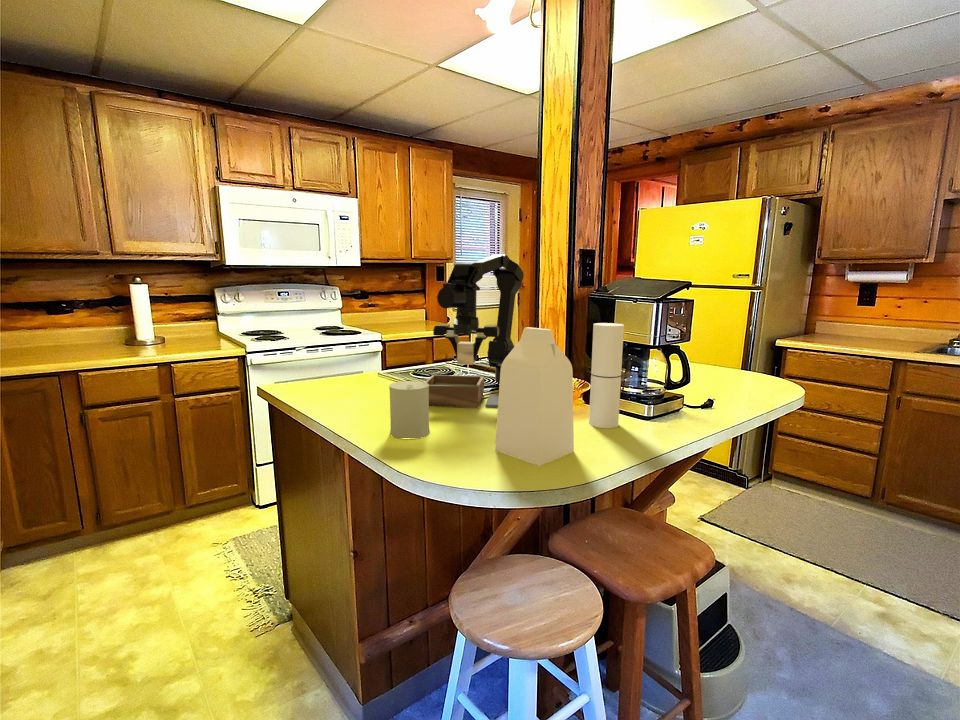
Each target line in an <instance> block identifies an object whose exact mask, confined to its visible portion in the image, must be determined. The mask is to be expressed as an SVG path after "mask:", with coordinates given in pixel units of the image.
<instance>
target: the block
mask: <svg viewBox="0 0 960 720" xmlns="http://www.w3.org/2000/svg"><path fill="white" fill-rule="evenodd" d="M474 349H475V341H459V343H458V344H457V357H456V362H457V365H467V366H469V365H471V366H472V365H475V363H476V360H474Z"/></svg>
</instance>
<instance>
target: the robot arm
mask: <svg viewBox="0 0 960 720" xmlns="http://www.w3.org/2000/svg"><path fill="white" fill-rule="evenodd" d="M490 272H491V273H492V275H494V277H495V278H496V286H497V288H498V290H499V292H500V296H499V304H498V314H497V320H496V321H497V322H496V325H491V324H487V325H484V326H483V327H480V325H479V324H480V323H479V320H480V319H479V317H478V316H477V292H478V291H480V290H481V287H480V286H479V285H478V284H477V283H478V282H480V281H481V280H482V279H483V276H484V275H486V274H489V273H490ZM524 277H525V275H524V271H523V270H522V268H521V267H520V265H519V264H518V263H516V262H515V261H514V260H512V259H510V257H509V256H508V255H507V254H504V253H503V254H502V253H498V254H495V253H493V254H492V255H490V256H488V257H484V258H481V259H479V260H476V261H473V262H457V263H455V264H454V266H453V268H452V271H451V273H450V275H449V277H448V279H447V282H446V283H442V288H440V290H439V291H438V293H437V296H436V298H437V299H436V300H437V303H438V305H439V306H440V307H441V308H442V309H456V314H455V319H454V320H453V326H451V325H450V324H447V323H446V324H444V323H443V324H442V323H441V324H440V323H439V324H436V325H435V326H434V327H433V330H432V333H433V334H432V335H433V336H438V337H439V336H442V337H444V339H446V340H448V341H449V342H450V343H451V346H452V348H453V351H454V354H455V356H456V357H455V358H457V344H458V343H459V342H460V340H459V335H465V336H469V335H471V334H472V335H473V334H475V335H477V336H475V337H474V342H475V349H474V360H475V361H476V360H477V356H478V354H479V351H480V348H481V345H482V343H483V341H484V340H487V338H493V339H492V340H489V342H488V348H487V360H488V365H489V368H494V370H495V371H494V372H495V373H494V374H495V375H494V377H495V378H494V380H495V381H496V382H498V383H499V384H500V371H501V365H502V363H503V361H504V359H505V358H506V357H507V355H508V354H509V353H510V352H511V351H512V349H513V348H514V347H515V345H514V343H513V341H512V338H511V334H512V328H513V327H512V326H513V318H514V317H513V316H514V310H515V302H516V301H515V300H516V295H517V293H518V292H519V291H520V289H521V288H522V284H523V280H524ZM495 381H494V382H495Z"/></svg>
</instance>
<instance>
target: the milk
mask: <svg viewBox="0 0 960 720" xmlns="http://www.w3.org/2000/svg"><path fill="white" fill-rule="evenodd" d="M573 375H574V374H573V365H572V363H571V361H570V359H569V358H568V357H567V356H566V354H565V353H564V352H563V351H562V350H561V348H560V347H559V346H558V345H557V343H556V341H555V337H554V335H553V331H552V329H548V328H542V327H541V328H538V327H524V328H523V330H522V333H521V336H520V338H519V341H518V342H517V343H516V344H515V345H514V348H513V349H512V351H511V352H510V353H509V354H508V355H507V357H506V358H505V359H504V361H503V363H502V365H501V371H500V385H499V387H498V395H499V399H498V408H497V417H496V418H497V419H496V428H495V429H496V430H495V431H496V432H495V446H494V451H495V452H499V453H501V454H503V455H506V456H510V457H512V458H515V459H518V460H520V461H521V460H522V461H524V462H526V463H528V464H533V465H535V466H537V467H541V466H544V465H545V464H548V463H551V462H553V461H555V460H557V459H560V458H562V457H566V456H567V455H569V454H572V453H574V452H575V443H574V442H575V441H574V439H575V438H574V437H575V436H574V434H575V433H574V386H573V385H574V383H573V382H574V380H573V379H574V377H573Z"/></svg>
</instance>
